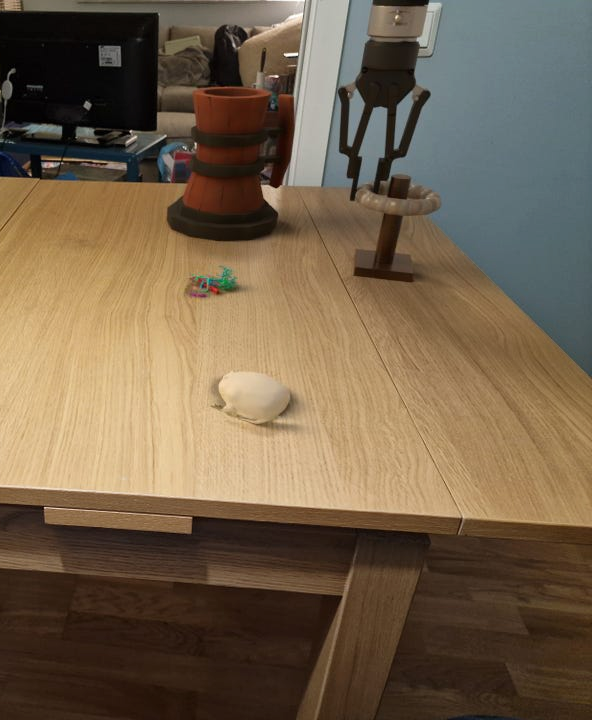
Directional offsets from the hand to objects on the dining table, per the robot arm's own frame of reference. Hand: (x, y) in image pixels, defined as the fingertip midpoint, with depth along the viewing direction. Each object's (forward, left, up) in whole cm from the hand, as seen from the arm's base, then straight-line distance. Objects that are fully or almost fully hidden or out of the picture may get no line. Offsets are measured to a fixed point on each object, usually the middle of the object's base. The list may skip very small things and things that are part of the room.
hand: (362, 199), depth 107 cm
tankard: (+24, -17, -12) cm, 32 cm away
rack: (-5, 0, -11) cm, 12 cm away
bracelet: (-5, 0, +1) cm, 5 cm away
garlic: (+10, +49, -12) cm, 51 cm away
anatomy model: (+21, +20, -12) cm, 31 cm away
